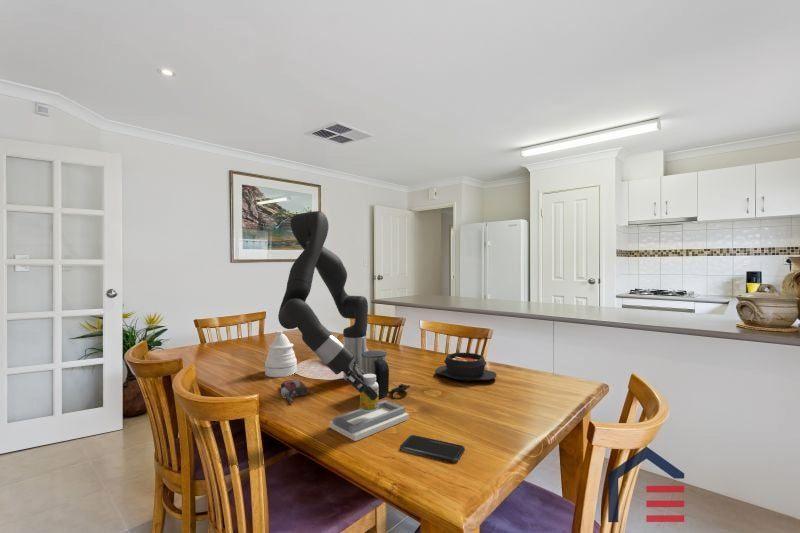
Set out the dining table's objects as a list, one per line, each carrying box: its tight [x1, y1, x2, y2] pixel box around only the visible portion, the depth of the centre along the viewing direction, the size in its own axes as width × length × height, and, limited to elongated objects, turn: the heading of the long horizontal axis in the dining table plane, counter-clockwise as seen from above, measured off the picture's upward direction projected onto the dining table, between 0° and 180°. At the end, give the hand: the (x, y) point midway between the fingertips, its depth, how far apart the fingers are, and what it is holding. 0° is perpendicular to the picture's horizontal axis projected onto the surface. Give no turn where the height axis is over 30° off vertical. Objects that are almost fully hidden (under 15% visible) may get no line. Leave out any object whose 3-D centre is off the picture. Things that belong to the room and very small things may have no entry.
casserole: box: [434, 352, 498, 382], centre depth 155 cm, size 25×19×8 cm
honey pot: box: [264, 330, 298, 378], centre depth 163 cm, size 13×13×18 cm
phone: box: [399, 434, 466, 464], centre depth 96 cm, size 8×1×15 cm
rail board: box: [328, 399, 410, 442], centre depth 111 cm, size 20×12×3 cm, turn 134°
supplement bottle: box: [359, 374, 379, 412], centre depth 111 cm, size 5×5×10 cm
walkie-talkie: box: [280, 378, 309, 404], centre depth 136 cm, size 9×4×20 cm
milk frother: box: [361, 350, 411, 399], centre depth 136 cm, size 14×16×15 cm
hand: (375, 394), depth 111 cm, fingers closed on supplement bottle, 5 cm apart
